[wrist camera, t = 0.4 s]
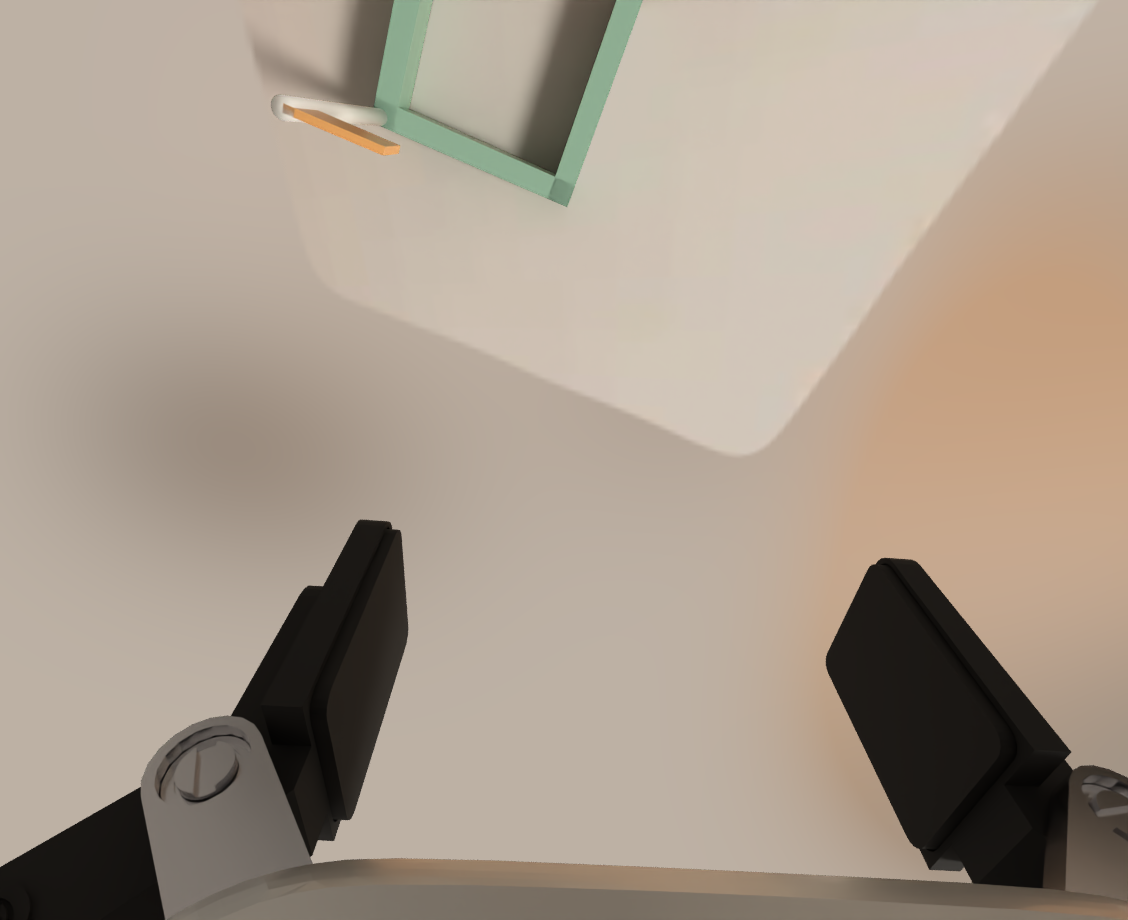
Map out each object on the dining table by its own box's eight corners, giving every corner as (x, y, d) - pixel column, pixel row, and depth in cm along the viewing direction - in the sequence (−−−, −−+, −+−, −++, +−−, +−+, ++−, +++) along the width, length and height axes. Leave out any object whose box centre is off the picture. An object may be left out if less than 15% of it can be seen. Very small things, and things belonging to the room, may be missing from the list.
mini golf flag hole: (428, -103, 28) (316, -300, 15) (638, 6, 30) (692, -87, 17) (383, 122, 32) (269, 115, 20) (566, 202, 34) (568, 241, 22)
